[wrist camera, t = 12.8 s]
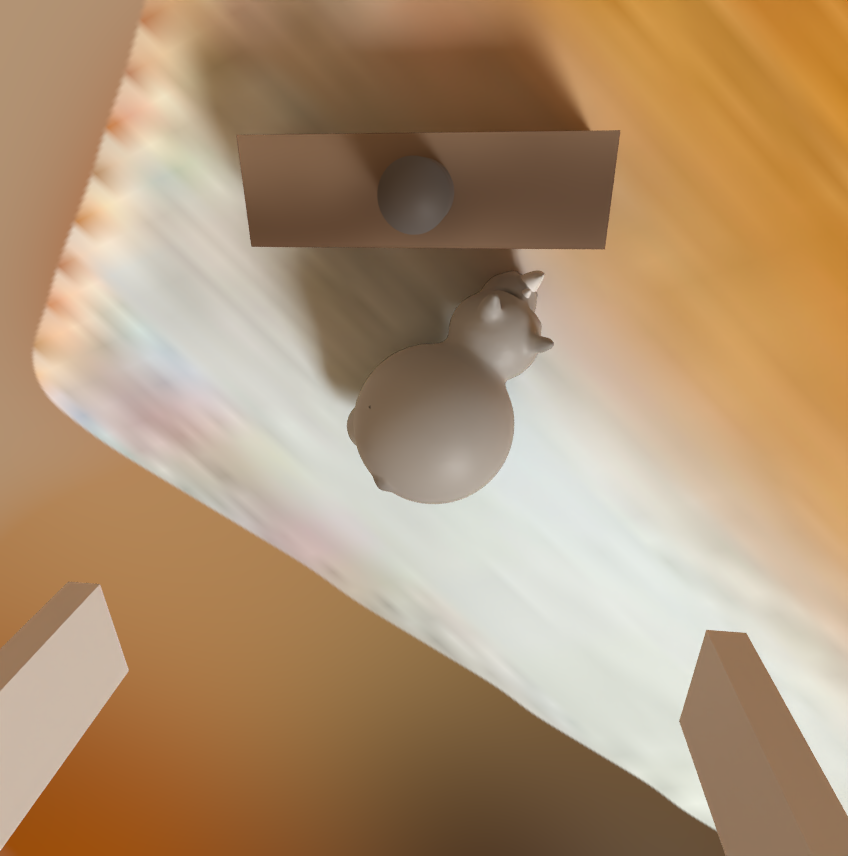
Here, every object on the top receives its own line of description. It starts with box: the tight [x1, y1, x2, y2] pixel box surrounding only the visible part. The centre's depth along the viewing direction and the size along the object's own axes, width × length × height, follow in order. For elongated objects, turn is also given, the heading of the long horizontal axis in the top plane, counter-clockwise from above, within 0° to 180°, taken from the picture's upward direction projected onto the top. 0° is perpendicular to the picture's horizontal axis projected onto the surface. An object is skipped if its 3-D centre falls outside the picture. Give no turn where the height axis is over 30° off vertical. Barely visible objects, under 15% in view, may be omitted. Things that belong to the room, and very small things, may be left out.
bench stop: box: [237, 130, 620, 249], centre depth 22 cm, size 4×14×8 cm, turn 90°
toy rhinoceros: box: [347, 271, 554, 504], centre depth 25 cm, size 7×12×8 cm, turn 142°
